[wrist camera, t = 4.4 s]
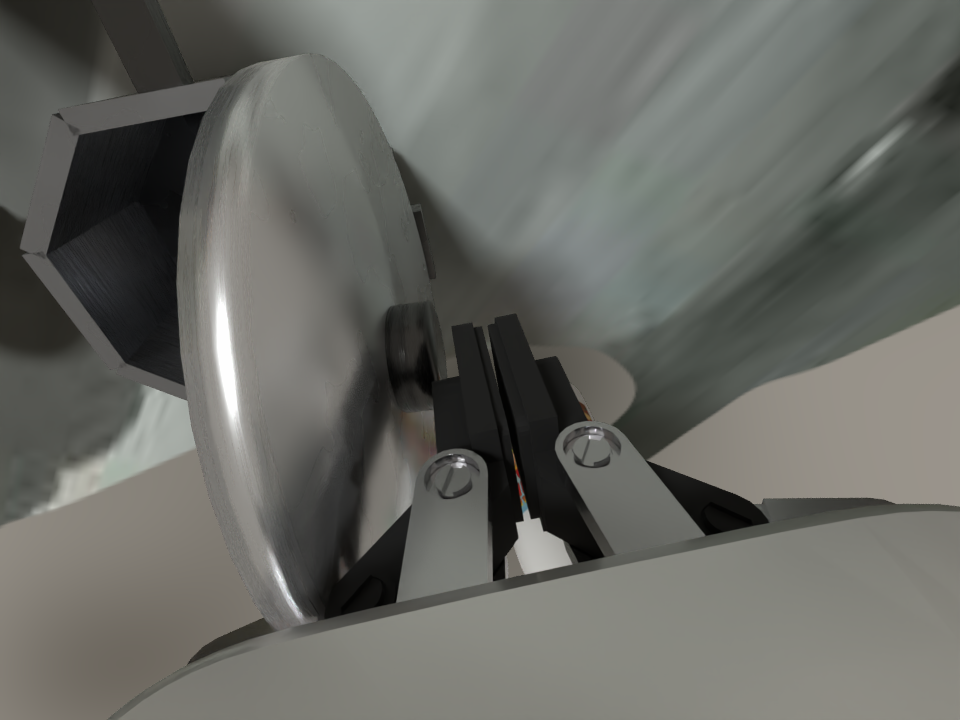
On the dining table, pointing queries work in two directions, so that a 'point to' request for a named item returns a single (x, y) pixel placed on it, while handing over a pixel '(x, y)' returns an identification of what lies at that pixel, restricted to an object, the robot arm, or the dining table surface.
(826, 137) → the dining table surface
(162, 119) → the pot
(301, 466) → the lid
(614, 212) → the dining table surface
